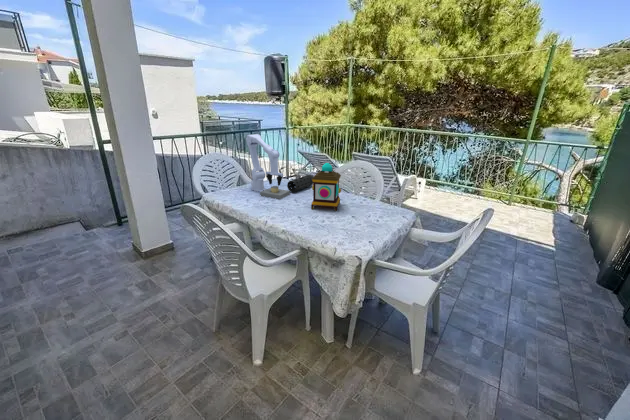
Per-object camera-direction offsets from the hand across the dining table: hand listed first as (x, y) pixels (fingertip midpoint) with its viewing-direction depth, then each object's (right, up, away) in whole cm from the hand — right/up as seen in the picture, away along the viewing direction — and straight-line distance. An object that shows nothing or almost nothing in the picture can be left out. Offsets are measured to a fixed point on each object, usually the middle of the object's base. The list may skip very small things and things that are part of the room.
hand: (274, 184), depth 210 cm
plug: (0, -8, +3) cm, 8 cm away
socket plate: (0, -8, +3) cm, 8 cm away
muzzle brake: (+20, -2, +20) cm, 28 cm away
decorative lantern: (+38, -17, -20) cm, 46 cm away
